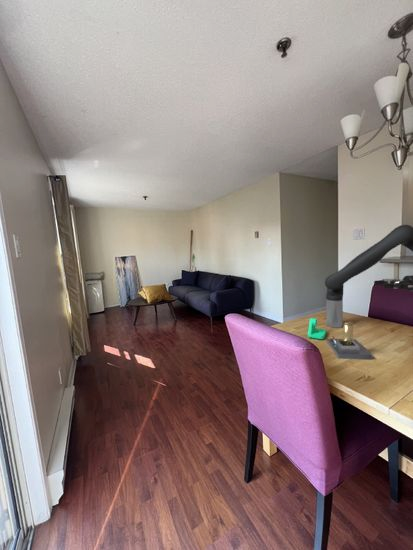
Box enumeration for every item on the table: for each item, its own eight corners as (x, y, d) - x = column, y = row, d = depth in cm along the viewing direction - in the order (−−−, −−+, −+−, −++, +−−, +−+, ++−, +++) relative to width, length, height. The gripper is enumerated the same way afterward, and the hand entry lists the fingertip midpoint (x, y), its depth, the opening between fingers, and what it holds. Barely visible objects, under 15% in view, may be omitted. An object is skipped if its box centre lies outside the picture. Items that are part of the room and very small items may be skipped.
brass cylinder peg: (341, 345, 115) (342, 321, 113) (349, 346, 114) (351, 321, 112) (344, 349, 111) (345, 324, 109) (353, 349, 110) (355, 324, 108)
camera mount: (322, 341, 127) (322, 323, 126) (308, 338, 132) (307, 321, 130) (326, 333, 137) (326, 317, 136) (312, 331, 141) (312, 315, 140)
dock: (326, 342, 125) (326, 334, 124) (355, 342, 122) (355, 334, 121) (338, 358, 107) (338, 349, 107) (372, 359, 104) (372, 349, 104)
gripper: (408, 273, 114) (371, 274, 118) (429, 277, 101) (387, 278, 104) (408, 288, 115) (371, 289, 119) (428, 294, 102) (386, 295, 105)
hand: (378, 284), depth 111 cm, fingers open, 8 cm apart
